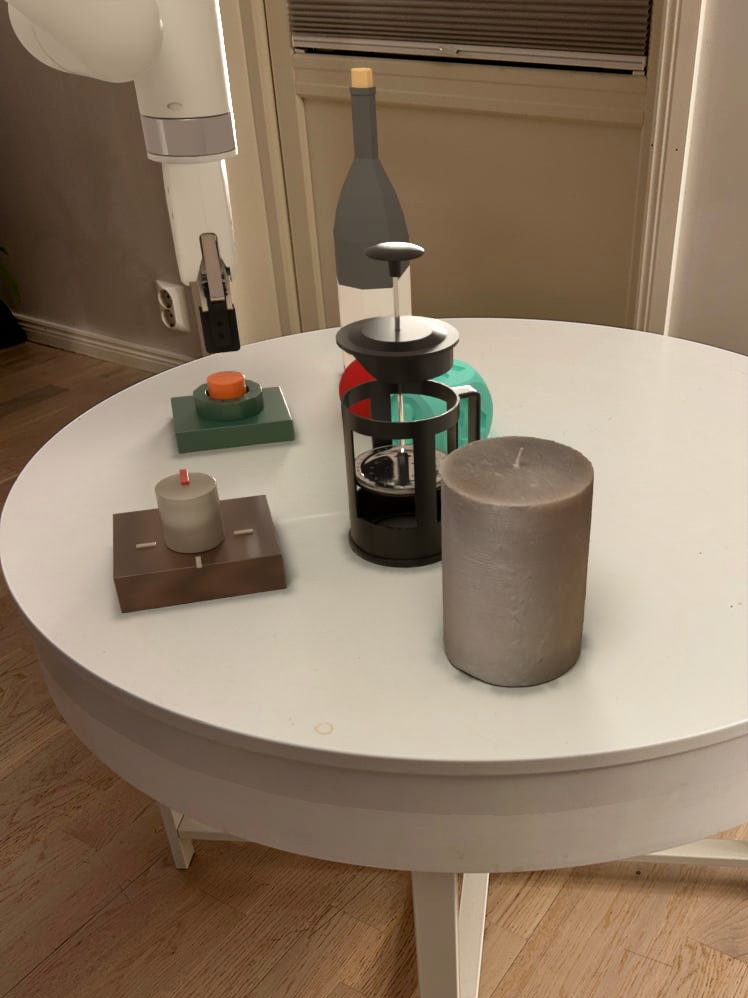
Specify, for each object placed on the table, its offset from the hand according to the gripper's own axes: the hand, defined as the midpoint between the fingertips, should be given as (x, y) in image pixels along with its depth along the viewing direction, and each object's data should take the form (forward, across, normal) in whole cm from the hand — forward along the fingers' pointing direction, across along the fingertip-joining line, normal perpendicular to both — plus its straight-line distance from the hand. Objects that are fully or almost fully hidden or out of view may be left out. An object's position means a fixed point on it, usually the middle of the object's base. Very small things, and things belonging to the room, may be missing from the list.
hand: (223, 349), depth 95 cm
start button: (+5, 0, 0) cm, 5 cm away
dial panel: (+8, +26, -5) cm, 28 cm away
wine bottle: (+8, -10, +17) cm, 21 cm away
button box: (+8, 0, 0) cm, 8 cm away
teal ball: (+8, +11, +18) cm, 23 cm away
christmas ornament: (+8, +3, +14) cm, 16 cm away
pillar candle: (+8, +43, +15) cm, 46 cm away
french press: (+8, +26, +12) cm, 30 cm away
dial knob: (+5, +27, -5) cm, 28 cm away
